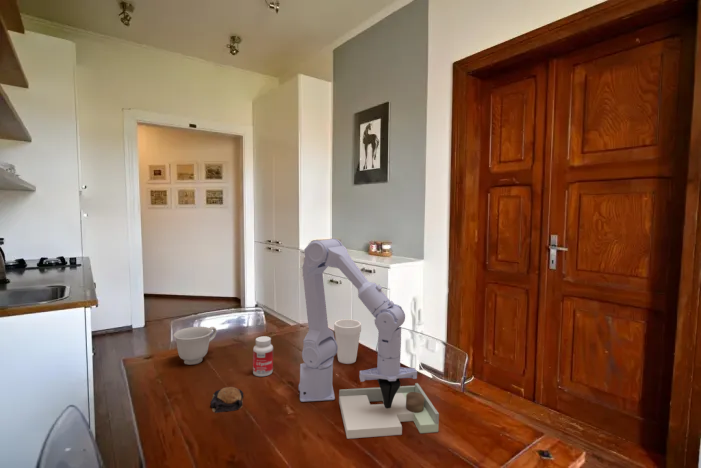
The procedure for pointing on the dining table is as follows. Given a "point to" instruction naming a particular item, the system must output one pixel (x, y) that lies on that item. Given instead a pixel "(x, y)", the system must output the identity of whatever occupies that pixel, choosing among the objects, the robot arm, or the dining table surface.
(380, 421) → the box
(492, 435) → the dining table surface
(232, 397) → the tan black low dome
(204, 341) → the teacup
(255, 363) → the pill bottle
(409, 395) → the brown wooden cylinder
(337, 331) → the foam cup
